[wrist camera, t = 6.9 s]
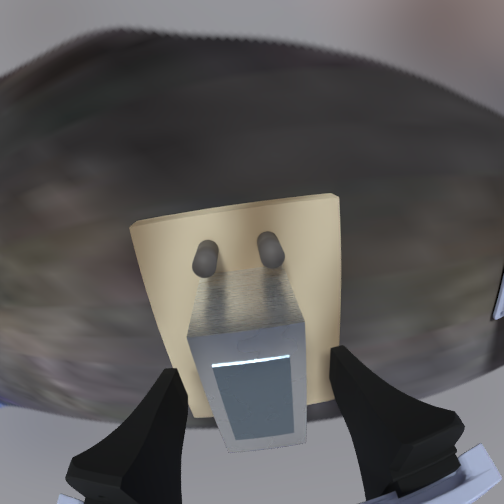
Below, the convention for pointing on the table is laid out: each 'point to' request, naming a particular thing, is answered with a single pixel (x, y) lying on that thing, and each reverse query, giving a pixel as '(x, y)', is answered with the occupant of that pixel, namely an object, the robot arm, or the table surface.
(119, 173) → the table surface
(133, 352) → the table surface
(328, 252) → the tan flat board
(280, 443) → the block
